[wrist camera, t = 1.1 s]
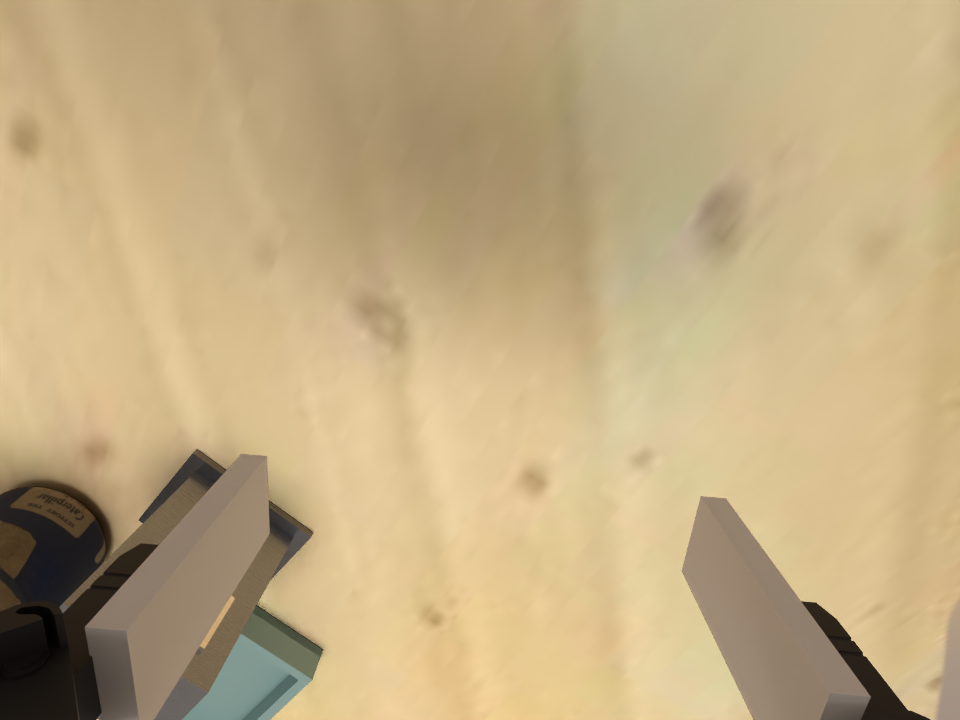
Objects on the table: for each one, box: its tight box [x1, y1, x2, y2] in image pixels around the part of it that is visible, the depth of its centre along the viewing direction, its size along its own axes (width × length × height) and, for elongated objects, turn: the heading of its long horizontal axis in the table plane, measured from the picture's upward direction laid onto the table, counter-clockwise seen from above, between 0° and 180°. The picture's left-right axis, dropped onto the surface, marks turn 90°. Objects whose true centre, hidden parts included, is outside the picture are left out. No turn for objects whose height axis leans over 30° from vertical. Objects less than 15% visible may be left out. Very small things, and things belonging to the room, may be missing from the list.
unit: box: [59, 450, 313, 720], centre depth 36 cm, size 11×8×16 cm
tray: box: [182, 606, 323, 720], centre depth 47 cm, size 15×16×3 cm
